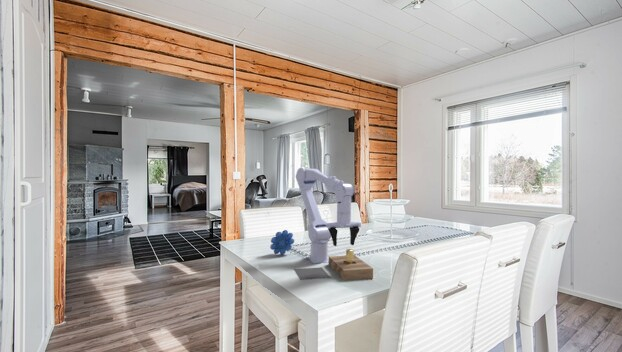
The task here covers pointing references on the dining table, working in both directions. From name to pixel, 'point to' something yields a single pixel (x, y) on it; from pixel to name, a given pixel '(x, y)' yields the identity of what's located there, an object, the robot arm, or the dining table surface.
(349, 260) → the brass pin
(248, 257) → the dining table surface
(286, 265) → the dining table surface
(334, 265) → the walnut block
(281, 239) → the blue thick lobed disc
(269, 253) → the dining table surface
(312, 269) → the rubber mat
